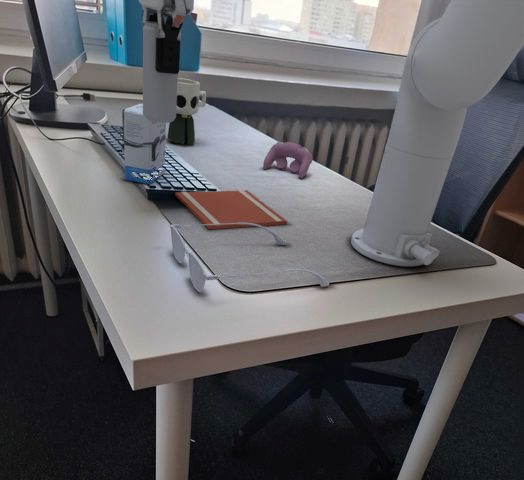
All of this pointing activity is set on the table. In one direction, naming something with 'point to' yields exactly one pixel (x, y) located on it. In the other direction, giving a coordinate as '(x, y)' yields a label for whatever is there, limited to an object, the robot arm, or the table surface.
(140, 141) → the ink box
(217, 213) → the towel
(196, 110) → the character mug
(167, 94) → the beverage can
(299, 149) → the video game controller
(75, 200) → the table surface
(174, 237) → the eyeglasses
